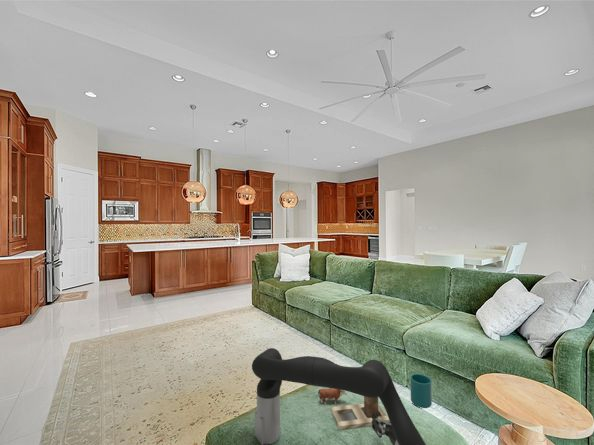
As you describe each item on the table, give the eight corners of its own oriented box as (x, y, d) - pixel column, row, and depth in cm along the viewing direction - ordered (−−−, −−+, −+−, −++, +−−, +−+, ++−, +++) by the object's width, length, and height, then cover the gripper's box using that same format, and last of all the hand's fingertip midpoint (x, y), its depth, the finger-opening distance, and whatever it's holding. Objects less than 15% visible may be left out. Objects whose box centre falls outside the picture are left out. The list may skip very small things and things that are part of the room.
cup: (423, 393, 138) (423, 370, 139) (435, 408, 126) (435, 384, 127) (405, 393, 138) (405, 370, 139) (415, 409, 126) (415, 384, 127)
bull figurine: (347, 407, 128) (347, 389, 128) (318, 406, 128) (318, 389, 128) (346, 401, 132) (346, 384, 132) (317, 400, 132) (317, 383, 133)
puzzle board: (339, 431, 112) (339, 426, 112) (330, 412, 124) (330, 407, 124) (389, 425, 116) (389, 419, 116) (376, 406, 128) (376, 401, 128)
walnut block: (368, 419, 118) (368, 391, 119) (364, 412, 123) (364, 385, 123) (378, 418, 119) (378, 389, 119) (373, 411, 124) (373, 384, 124)
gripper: (424, 430, 96) (399, 401, 112) (386, 436, 93) (366, 405, 109) (425, 452, 96) (399, 420, 111) (386, 458, 93) (366, 425, 109)
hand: (383, 413), depth 110 cm, fingers open, 8 cm apart
